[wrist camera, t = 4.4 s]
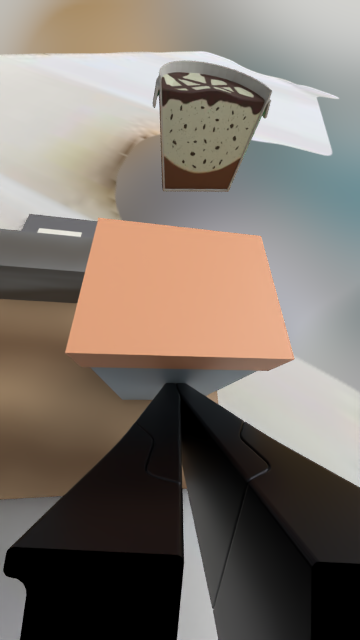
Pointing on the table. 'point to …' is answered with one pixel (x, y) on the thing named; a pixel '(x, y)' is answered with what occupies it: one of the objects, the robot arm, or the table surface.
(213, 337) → the orange-capped grey pillar
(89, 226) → the card
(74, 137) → the table surface
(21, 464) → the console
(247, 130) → the food container
